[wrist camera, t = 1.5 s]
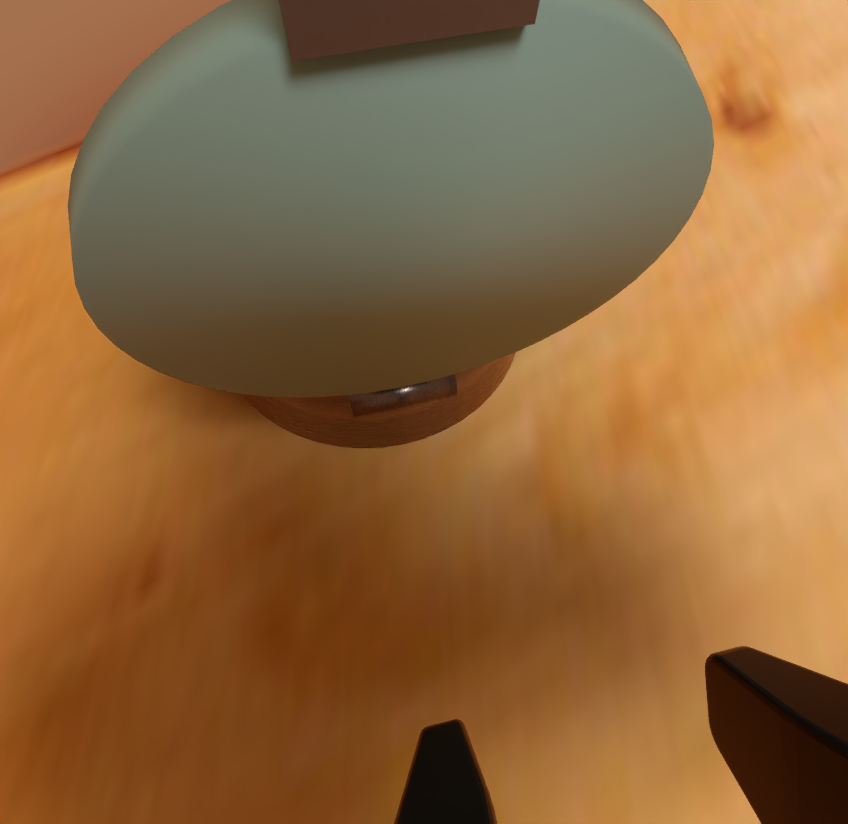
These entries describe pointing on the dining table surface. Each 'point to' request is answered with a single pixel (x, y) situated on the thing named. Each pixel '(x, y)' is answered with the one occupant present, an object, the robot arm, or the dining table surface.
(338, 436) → the cooker pot
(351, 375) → the lid
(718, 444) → the dining table surface
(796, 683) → the robot arm
